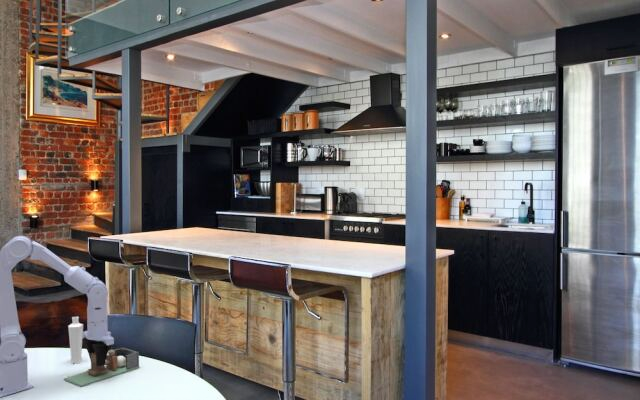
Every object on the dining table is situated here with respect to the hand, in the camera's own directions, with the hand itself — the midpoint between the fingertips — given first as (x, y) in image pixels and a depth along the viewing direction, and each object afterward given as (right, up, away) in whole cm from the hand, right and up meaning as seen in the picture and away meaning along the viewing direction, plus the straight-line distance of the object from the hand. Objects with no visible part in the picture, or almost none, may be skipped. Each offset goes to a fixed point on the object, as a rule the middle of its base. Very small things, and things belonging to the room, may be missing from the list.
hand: (98, 364), depth 158 cm
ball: (+4, -1, +6) cm, 8 cm away
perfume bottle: (-13, -4, +13) cm, 19 cm away
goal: (+5, -3, +7) cm, 9 cm away
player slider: (+1, -3, +1) cm, 3 cm away
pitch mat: (+1, -3, +1) cm, 4 cm away
